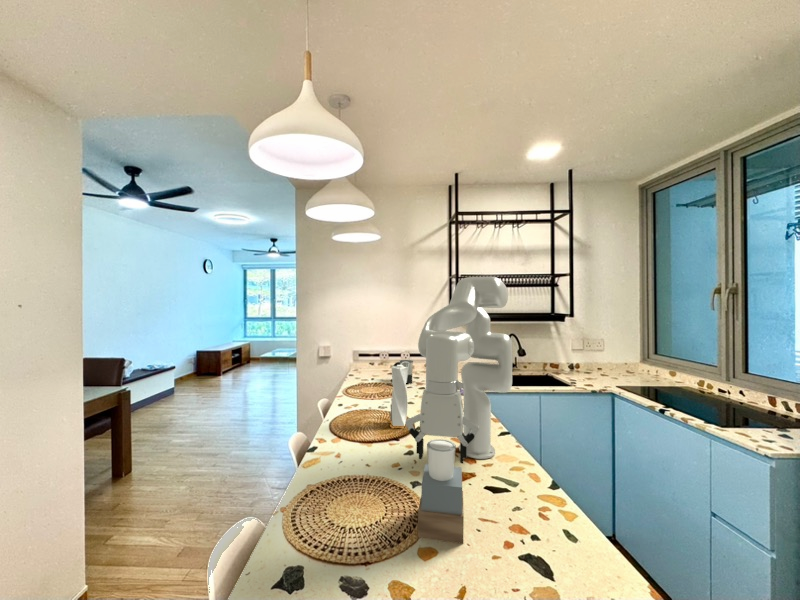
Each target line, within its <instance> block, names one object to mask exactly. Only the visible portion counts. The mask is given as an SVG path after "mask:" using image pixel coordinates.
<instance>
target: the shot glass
mask: <svg viewBox="0 0 800 600" xmlns="http://www.w3.org/2000/svg"><path fill="white" fill-rule="evenodd" d="M456 448H457V447H456V444H455V442H452V441H451V440H447V439H442V438H441V439H440V438H439V439H433V440H429V441H428V442H427V443H426V449H427V450H426V451H427V464H428V465H429V475H430V477H432V478H433V479H435V480H439V481H447V480H450V479H451V478H452V477H453V471H454V467H455V459H456Z"/></svg>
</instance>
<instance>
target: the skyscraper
mask: <svg viewBox="0 0 800 600" xmlns="http://www.w3.org/2000/svg"><path fill="white" fill-rule="evenodd" d="M402 363H409V362H407V361H404V362H402ZM402 363H401V365H397V366H394V365H391V379H392V382H393V383H392V382H391V383H392V394H391V403H390V414H389V417H390V419H389V422H390V421H392V425H393V426H405V422H406V420H407V416H408V415H407V414H408V393H407V391H408V390H407V384H406V383H407V376H408V367H409V364H410V363H409V364H408V367H403V365H402Z"/></svg>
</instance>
